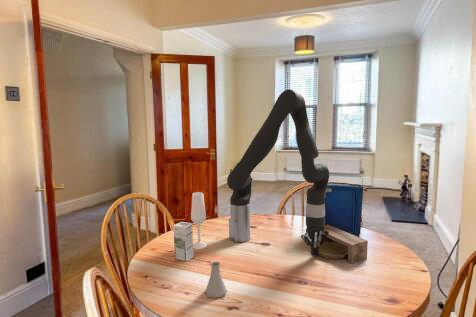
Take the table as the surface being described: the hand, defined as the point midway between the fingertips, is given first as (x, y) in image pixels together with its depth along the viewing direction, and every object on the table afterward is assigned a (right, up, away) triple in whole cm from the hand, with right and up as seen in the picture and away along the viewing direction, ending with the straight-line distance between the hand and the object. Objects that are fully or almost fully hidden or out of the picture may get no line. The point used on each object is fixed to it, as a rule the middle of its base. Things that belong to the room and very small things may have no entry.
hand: (314, 255), depth 126 cm
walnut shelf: (+12, 0, +6) cm, 13 cm away
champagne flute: (-49, 0, +14) cm, 51 cm away
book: (+18, +2, +27) cm, 32 cm away
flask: (-38, -5, -24) cm, 46 cm away
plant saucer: (+8, -1, +4) cm, 9 cm away
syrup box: (-53, -2, +2) cm, 53 cm away
